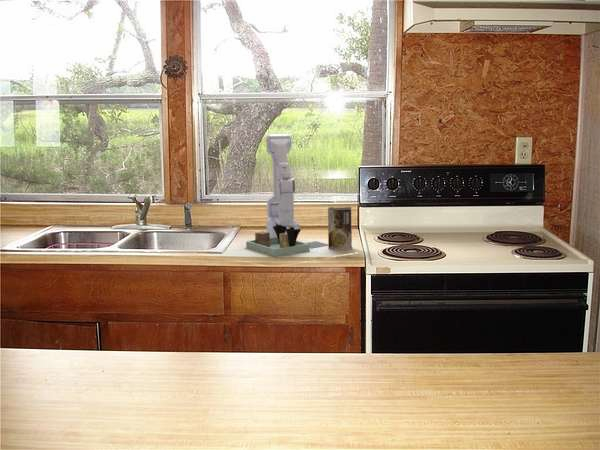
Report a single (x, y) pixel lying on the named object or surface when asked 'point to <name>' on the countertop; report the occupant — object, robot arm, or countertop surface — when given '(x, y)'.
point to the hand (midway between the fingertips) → (286, 245)
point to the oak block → (284, 240)
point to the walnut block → (262, 238)
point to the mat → (316, 244)
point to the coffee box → (339, 228)
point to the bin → (278, 247)
